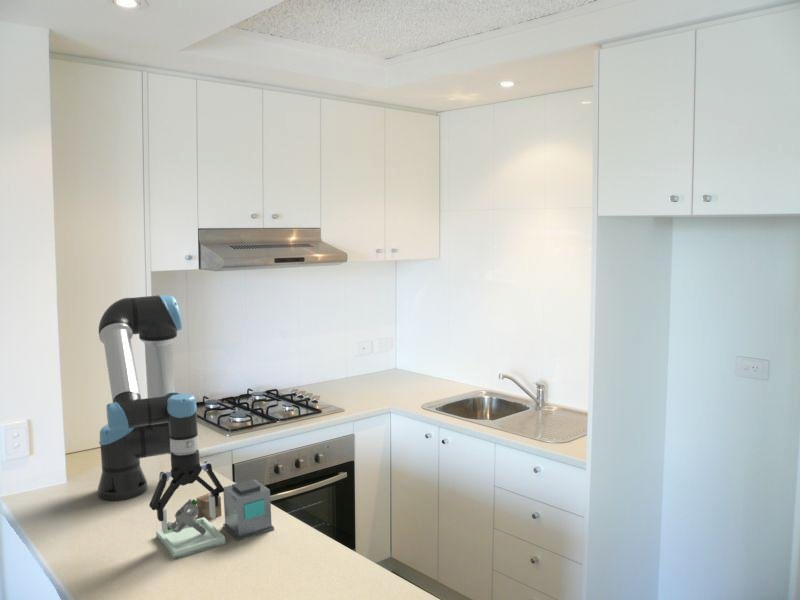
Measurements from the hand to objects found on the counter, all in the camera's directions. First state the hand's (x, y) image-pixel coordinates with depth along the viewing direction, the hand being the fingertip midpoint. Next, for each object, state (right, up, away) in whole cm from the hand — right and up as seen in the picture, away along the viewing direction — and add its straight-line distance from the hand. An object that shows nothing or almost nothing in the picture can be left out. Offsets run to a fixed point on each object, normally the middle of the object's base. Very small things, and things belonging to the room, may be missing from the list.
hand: (189, 524), depth 197 cm
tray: (0, -5, +1) cm, 5 cm away
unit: (+15, -3, +7) cm, 17 cm away
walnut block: (+1, -3, +16) cm, 16 cm away
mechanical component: (+4, -3, +3) cm, 5 cm away
